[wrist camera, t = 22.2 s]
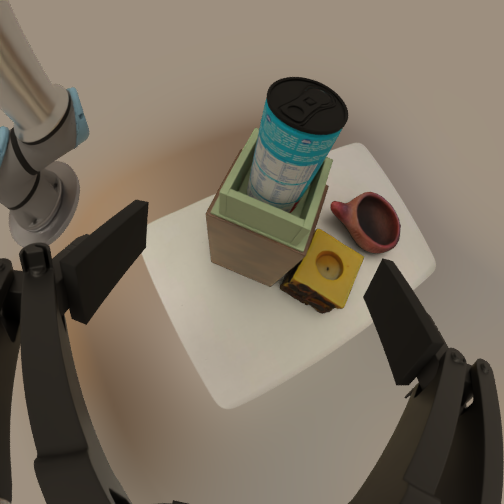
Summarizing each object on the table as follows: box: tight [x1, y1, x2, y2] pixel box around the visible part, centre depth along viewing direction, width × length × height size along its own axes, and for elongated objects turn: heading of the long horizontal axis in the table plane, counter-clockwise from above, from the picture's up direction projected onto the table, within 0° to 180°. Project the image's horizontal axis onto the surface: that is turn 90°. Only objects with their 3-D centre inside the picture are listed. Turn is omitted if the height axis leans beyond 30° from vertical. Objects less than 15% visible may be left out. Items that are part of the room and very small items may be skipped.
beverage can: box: [247, 77, 348, 213], centre depth 24 cm, size 6×6×15 cm
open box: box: [211, 128, 333, 252], centre depth 29 cm, size 11×10×5 cm
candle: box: [280, 229, 364, 314], centre depth 47 cm, size 10×10×10 cm
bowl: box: [331, 192, 401, 253], centre depth 52 cm, size 16×13×8 cm
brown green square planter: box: [206, 149, 329, 287], centre depth 42 cm, size 12×10×22 cm
